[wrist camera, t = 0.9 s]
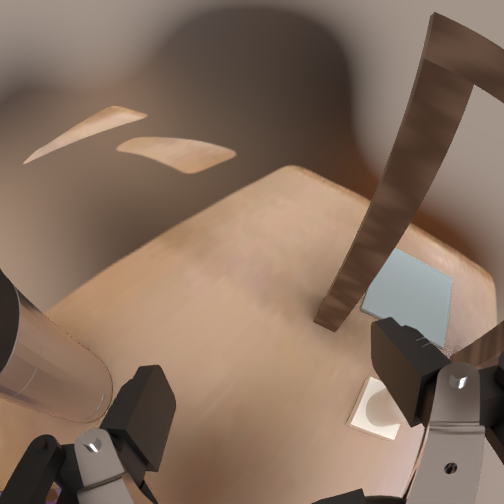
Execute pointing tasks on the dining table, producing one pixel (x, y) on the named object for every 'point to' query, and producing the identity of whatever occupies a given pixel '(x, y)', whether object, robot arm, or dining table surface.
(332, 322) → the archway
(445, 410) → the robot arm
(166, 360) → the dining table surface
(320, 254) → the dining table surface
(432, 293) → the mat
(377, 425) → the white tall cylinder
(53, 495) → the cereal box
